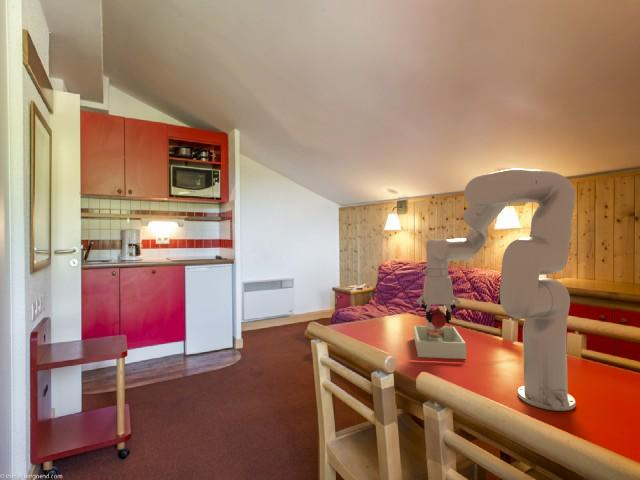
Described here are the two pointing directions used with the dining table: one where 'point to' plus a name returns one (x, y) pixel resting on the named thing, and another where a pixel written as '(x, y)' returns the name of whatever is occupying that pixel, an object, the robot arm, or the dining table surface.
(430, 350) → the tote
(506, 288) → the robot arm
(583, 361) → the dining table surface
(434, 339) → the glass jar
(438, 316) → the onion
